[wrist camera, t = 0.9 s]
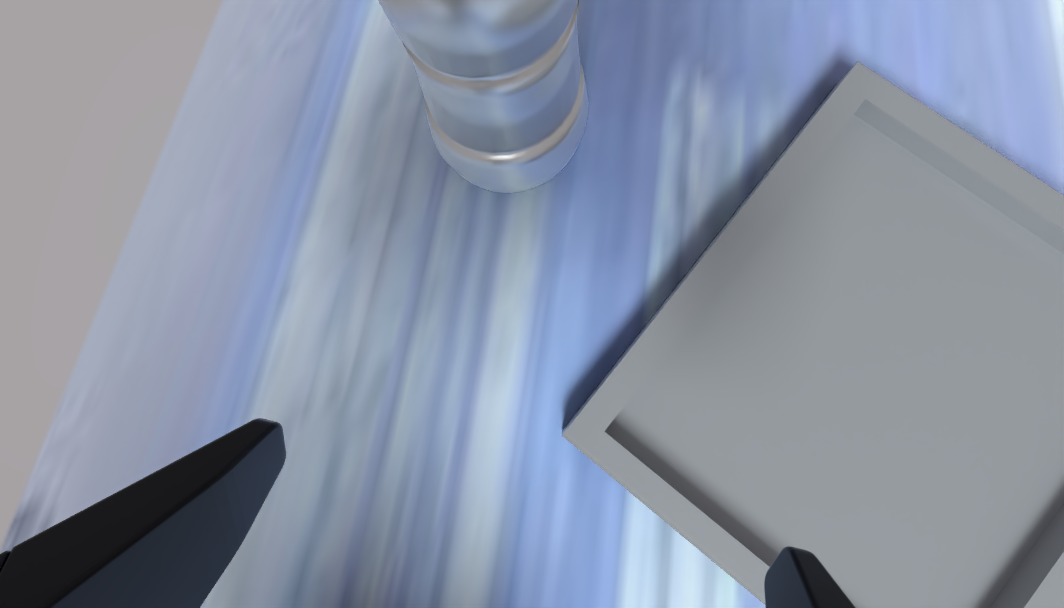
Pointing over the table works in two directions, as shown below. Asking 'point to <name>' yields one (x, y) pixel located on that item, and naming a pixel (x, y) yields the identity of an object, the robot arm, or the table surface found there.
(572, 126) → the plastic bottle
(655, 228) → the table surface
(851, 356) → the tray
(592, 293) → the table surface
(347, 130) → the table surface
